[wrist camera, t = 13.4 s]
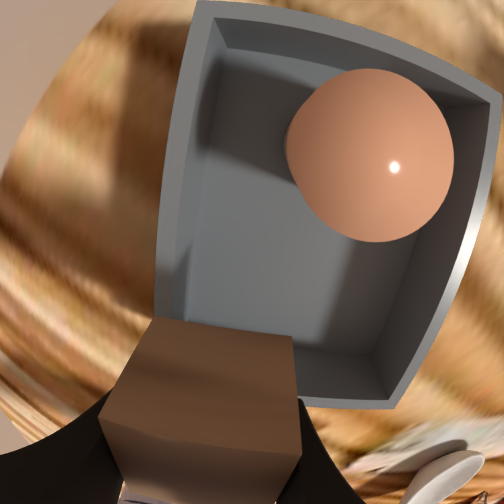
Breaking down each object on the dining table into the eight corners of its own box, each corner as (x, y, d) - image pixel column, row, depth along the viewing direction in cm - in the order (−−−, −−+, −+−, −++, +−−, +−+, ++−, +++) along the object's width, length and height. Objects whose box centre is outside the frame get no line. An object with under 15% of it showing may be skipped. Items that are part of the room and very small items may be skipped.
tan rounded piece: (366, 207, 15) (425, 258, 8) (272, 183, 15) (272, 219, 8) (389, 116, 13) (466, 108, 7) (294, 87, 13) (312, 46, 7)
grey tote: (373, 358, 19) (393, 409, 15) (177, 329, 19) (154, 380, 14) (450, 101, 13) (502, 95, 9) (217, 38, 13) (197, 0, 8)
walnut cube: (268, 420, 12) (266, 515, 8) (160, 403, 12) (129, 491, 8) (291, 336, 11) (302, 453, 6) (154, 315, 11) (97, 417, 6)
